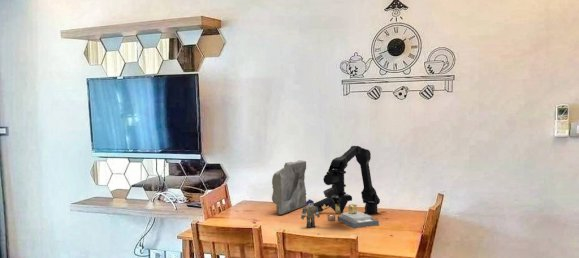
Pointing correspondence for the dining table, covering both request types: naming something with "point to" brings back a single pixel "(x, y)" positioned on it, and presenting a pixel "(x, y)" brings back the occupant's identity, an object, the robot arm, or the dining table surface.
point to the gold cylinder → (337, 208)
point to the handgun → (325, 202)
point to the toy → (310, 213)
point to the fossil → (289, 187)
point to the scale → (357, 220)
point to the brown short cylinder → (331, 217)
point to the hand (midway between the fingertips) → (339, 211)
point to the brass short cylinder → (352, 209)
